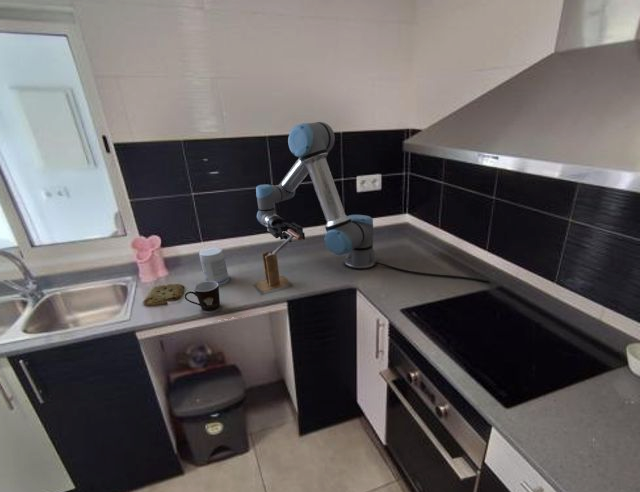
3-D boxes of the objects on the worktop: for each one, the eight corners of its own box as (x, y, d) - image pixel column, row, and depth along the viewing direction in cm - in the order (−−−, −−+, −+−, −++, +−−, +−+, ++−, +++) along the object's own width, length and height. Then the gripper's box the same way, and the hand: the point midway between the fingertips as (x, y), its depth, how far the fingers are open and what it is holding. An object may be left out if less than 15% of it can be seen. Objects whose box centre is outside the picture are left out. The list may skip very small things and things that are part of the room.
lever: (292, 231, 162) (289, 227, 161) (303, 238, 154) (299, 234, 153) (264, 257, 160) (260, 253, 159) (273, 266, 152) (270, 262, 151)
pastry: (172, 283, 165) (170, 277, 163) (197, 294, 156) (195, 287, 154) (133, 299, 152) (130, 293, 151) (157, 312, 143) (155, 305, 142)
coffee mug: (226, 304, 148) (222, 281, 143) (217, 315, 141) (212, 292, 136) (198, 303, 149) (192, 280, 144) (187, 314, 142) (181, 290, 137)
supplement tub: (231, 277, 169) (225, 246, 162) (226, 287, 161) (219, 255, 154) (209, 278, 169) (203, 247, 162) (203, 288, 161) (195, 255, 154)
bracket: (283, 278, 169) (279, 246, 162) (292, 286, 161) (288, 254, 154) (254, 285, 163) (249, 252, 156) (262, 294, 155) (257, 260, 148)
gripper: (294, 227, 183) (317, 241, 166) (257, 235, 174) (277, 250, 158) (292, 212, 180) (316, 225, 163) (255, 219, 171) (275, 233, 154)
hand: (297, 237), depth 160 cm, fingers open, 6 cm apart
